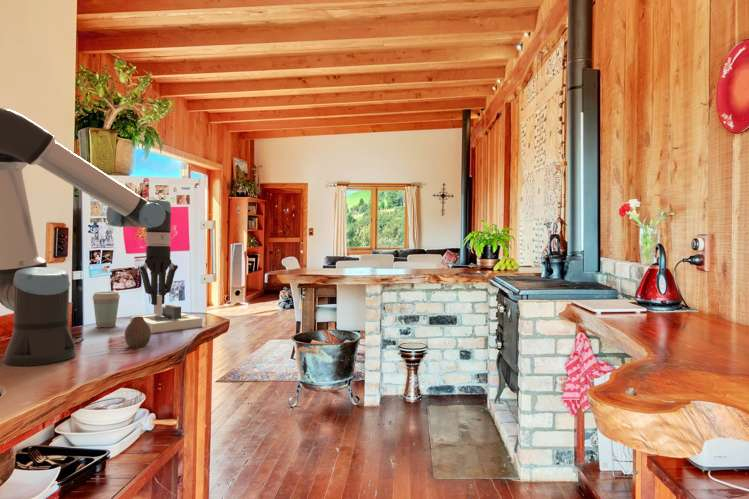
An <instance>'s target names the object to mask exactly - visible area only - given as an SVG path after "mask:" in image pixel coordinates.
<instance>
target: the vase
mask: <svg viewBox="0 0 749 499" xmlns="http://www.w3.org/2000/svg"><path fill="white" fill-rule="evenodd" d="M133 317H134V318H133V320H132V321H131V323H130V322H129V323H128V325H127V327H126V328H125V331H124V341H125V343H126V345H127V346H128V347H129V348H131V349H140V348H141V349H142V348H144V347H146V346H147V345H148V344H149V343H150V340H151V337H152V333H151V330H150V327H149V325H148V324H147V323H146V322H145V321H144V319H143V317H135V316H133Z"/></svg>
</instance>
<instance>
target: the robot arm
mask: <svg viewBox="0 0 749 499" xmlns="http://www.w3.org/2000/svg"><path fill="white" fill-rule="evenodd" d="M27 165H29V166H32V165H37V166H39V167H41V168H42V169H44V170H45V171H47V172H49V173H51V174H52V175H54V176H56V177H57V178H59V179H61V180H62V181H64V182H65V183H66V182H67V184H69V185H71V186H72V187H75V188H77V189H78V190H80V191H81V192H82V193H85V194H86V195H88V196H90V197H92V198H93V199H94V200H97V201H98V202H100V203H102V204H103V205H104V206H106V207H107V208H106V220H107V223H108V225H109V226H111V227H118V228H145V229H146V230H145V231H146V240H145V241H146V242H145V243H146V245H147V246H146V248H145V251H146V253H145V257H146V259H145V260H144V263H143V264H141V265H138V266H137V270H138V271H139V272H140V276H141V279H142V280H141V281H142V283H143V288H144V291H145V293H146V294H148V295H150V296H151V302H150V303H151V305H153V315H154V314H156V315H160V314H162V307H163V305H164V304H165V296H166V295H167V294H168V293H171V290H172V285H173V282H174V277H175V275H176V274H175V273H176V271H177V269H178V268H179V266H178V264H174V263H173V262H172V260H171V246H170V245H171V244H172V242H171V231H172V230H171V229H172V228H171V225H172V222H171V221H172V207H171V206H172V205H171V202H170V201H169V200H167V199H166V200H165V199H145V198H144V197H142V196H140V195H139V194H137V193H136V192H134V191H133V190H131V189H130V188H128V187H127V186H125V185H123V184H122V183H120V181H119V182H118V180H115V178H113V177H111V176H109V175H108V174H107V173H105V172H104V171H102V170H100V169H99V168H97V167H96V166H95V165H92V164H91V163H90V162H88V161H87V160H85V159H84V158H82V157H80V156H78V154H76V153H74V152H73V151H71V150H70V149H68V148H66V147H65V146H63V145H62V144H60V143H59V142H57V140H56V138H55V135H53V134H52V133H51V132H49V131H48V130H46V129H44V128H43V127H42V126H40V125H38V124H37V123H36V122H34V121H33V120H31V119H29V118H27V117H26V116H24V114H21V113H19V112H17V111H15V110H12V109H7V108H4V107H0V304H1V305H2V306H3V307H5V308H6V309H8V310H11V311H13V332H12V335H11V338H10V340H9V342H8V345H7V347H6V350H5V352H4V363H5V364H6V365H10V366H24V367H25V366H40V365H47V364H54V363H59V362H63V361H67V360H69V359H72V358H75V356H76V355H77V348H76V344H75V341H74V338H73V336H72V333H71V331H70V328H69V315H70V314H69V313H70V312H69V311H70V310H69V308H70V307H69V306H70V304H69V303H70V285H71V283H70V278H69V273H68V272H67V271H65V270H63V269H60V268H53V267H48V265H47V264H48V263H47V260H46V259H44V258H42V257H41V256H40V255H39V253H38V247H37V242H36V237H35V231H34V228H33V221H32V218H31V217H32V216H31V211H30V205H29V202H28V201H29V200H28V197H27V196H28V195H27V190H26V187H25V185H26V184H25V179H24V175H23V170H24V168H25V167H26V166H27ZM148 270H149V271H150V274H148ZM167 271H168V272H167ZM149 275H150V277H149ZM166 275H167V276H166Z"/></svg>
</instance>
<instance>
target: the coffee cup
mask: <svg viewBox="0 0 749 499" xmlns="http://www.w3.org/2000/svg"><path fill="white" fill-rule="evenodd" d="M91 299H92V300H93V310H94V318H95V327H96V326H97V327H110V328H113V327H116V324H117V316H118V310H119V301H120V299H121V297H120V294H119V292H118V291H97V292H94V293H93V296H92V298H91ZM97 327H96V328H97Z"/></svg>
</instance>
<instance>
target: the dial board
mask: <svg viewBox="0 0 749 499" xmlns="http://www.w3.org/2000/svg"><path fill="white" fill-rule="evenodd" d="M155 315H156V314H154V313H153V314H146V315H138V316H130V317H129V318H130V319H129V320H130V321H129V324H130V323H131V321H132V320H133V318H134V317H143V319H144V321H145V322H146V323H147V324H148V325H149V327H150V330H151V334H155V333H162V332H168V331H177V330H185V329H192V328H199V326H201V327H203V317H199V316H196V315H192V314H188V313H184V312H181V318H178V319H174V320H168V321H160V322H156V321H154V316H155Z"/></svg>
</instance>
